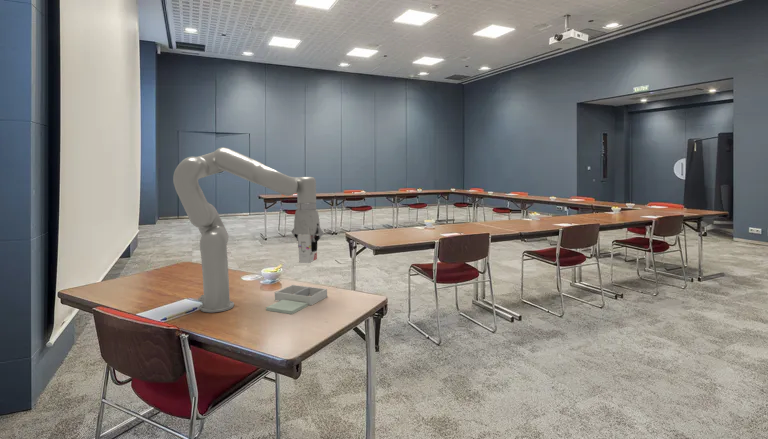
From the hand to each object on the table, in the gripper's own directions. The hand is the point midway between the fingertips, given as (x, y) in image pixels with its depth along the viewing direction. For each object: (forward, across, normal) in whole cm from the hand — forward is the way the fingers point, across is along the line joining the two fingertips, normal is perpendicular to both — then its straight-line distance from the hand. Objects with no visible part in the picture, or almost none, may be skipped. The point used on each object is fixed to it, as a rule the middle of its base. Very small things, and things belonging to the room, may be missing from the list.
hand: (307, 250), depth 179 cm
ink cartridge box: (+5, 0, 0) cm, 5 cm away
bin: (+21, -4, 0) cm, 22 cm away
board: (+21, -2, -12) cm, 25 cm away
